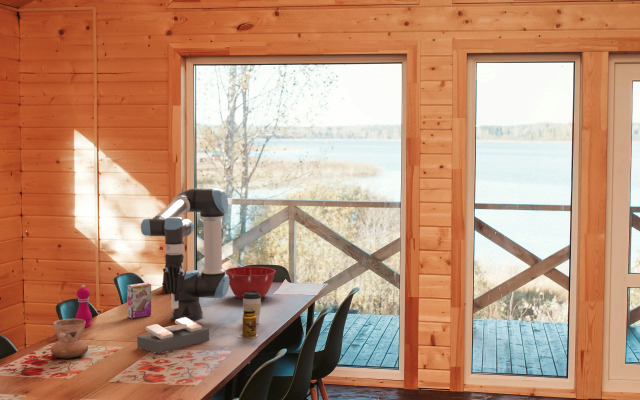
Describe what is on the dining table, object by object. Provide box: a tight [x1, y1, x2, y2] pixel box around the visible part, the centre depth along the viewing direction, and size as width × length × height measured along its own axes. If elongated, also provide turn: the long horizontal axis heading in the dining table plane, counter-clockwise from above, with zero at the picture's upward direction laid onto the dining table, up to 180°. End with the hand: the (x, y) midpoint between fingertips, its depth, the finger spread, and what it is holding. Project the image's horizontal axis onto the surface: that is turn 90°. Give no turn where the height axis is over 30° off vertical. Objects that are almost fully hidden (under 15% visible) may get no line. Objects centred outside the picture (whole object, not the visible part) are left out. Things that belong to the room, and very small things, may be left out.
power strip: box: [136, 326, 210, 355], centre depth 316 cm, size 14×31×6 cm, turn 141°
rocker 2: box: [163, 324, 187, 332], centre depth 314 cm, size 11×6×2 cm, turn 51°
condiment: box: [236, 309, 260, 339], centre depth 328 cm, size 7×8×12 cm
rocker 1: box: [144, 323, 173, 340], centre depth 308 cm, size 11×6×2 cm, turn 51°
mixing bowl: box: [224, 266, 276, 300], centre depth 412 cm, size 28×28×16 cm
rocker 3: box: [174, 317, 203, 332], centre depth 321 cm, size 11×6×2 cm, turn 51°
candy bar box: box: [126, 282, 152, 320], centre depth 365 cm, size 11×5×16 cm, turn 135°
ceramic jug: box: [50, 318, 89, 359], centre depth 297 cm, size 18×14×14 cm
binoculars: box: [161, 262, 171, 295], centre depth 430 cm, size 18×8×20 cm, turn 171°
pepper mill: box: [75, 284, 93, 329], centre depth 344 cm, size 7×7×20 cm
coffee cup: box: [242, 291, 262, 325], centre depth 353 cm, size 9×9×15 cm
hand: (174, 308), depth 311 cm, fingers closed
